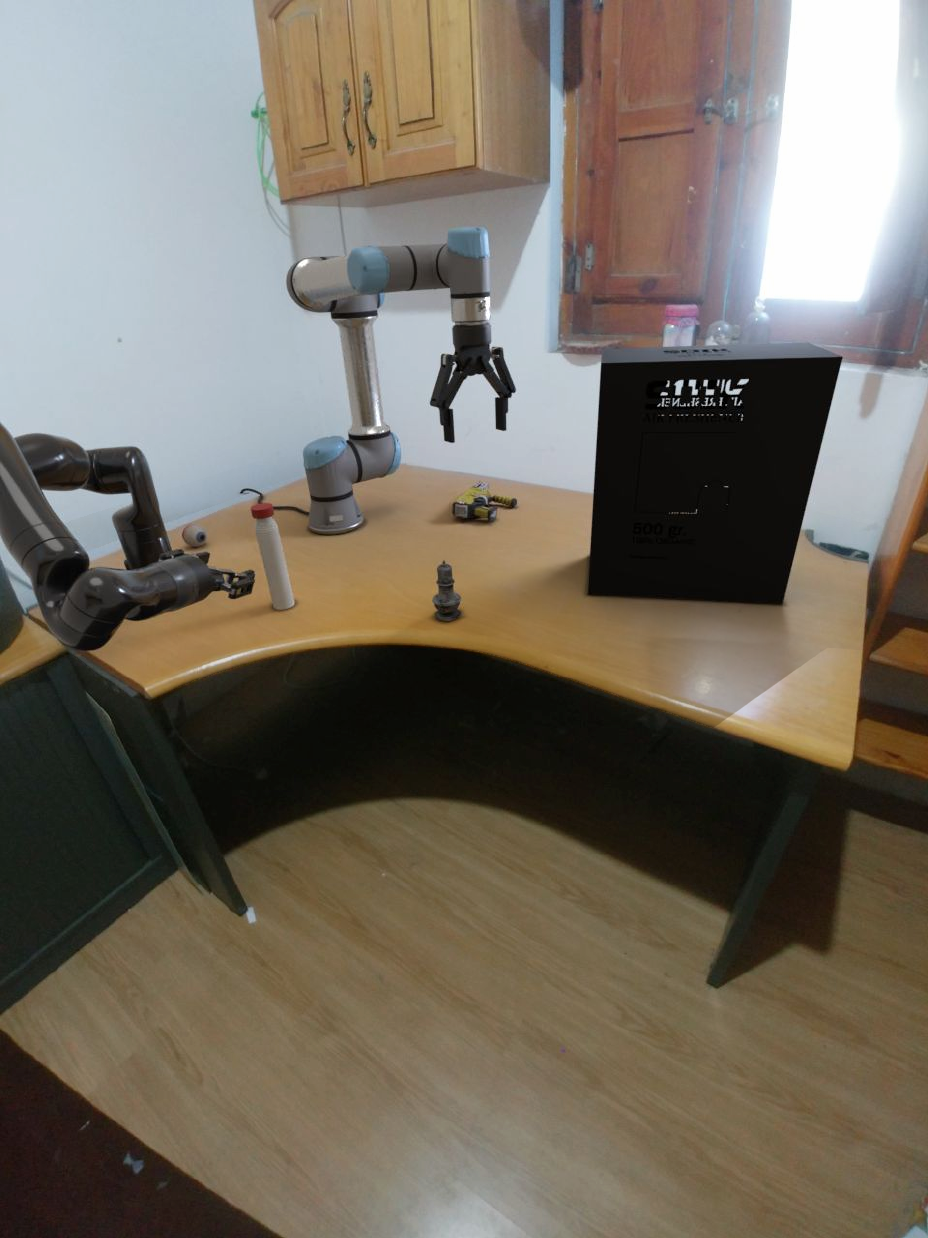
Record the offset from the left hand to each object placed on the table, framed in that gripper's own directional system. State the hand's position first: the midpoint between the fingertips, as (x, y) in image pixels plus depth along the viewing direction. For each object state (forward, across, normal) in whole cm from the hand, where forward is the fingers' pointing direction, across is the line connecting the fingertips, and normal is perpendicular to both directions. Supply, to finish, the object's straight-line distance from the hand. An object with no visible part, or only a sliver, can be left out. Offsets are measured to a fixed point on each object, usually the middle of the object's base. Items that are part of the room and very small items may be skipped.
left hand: (229, 566), depth 106 cm
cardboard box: (+36, +80, +23) cm, 91 cm away
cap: (+15, -4, +8) cm, 18 cm away
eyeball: (+51, -34, -17) cm, 64 cm away
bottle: (+22, +4, -11) cm, 25 cm away
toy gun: (+79, +34, +18) cm, 87 cm away
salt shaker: (+19, +38, +1) cm, 42 cm away
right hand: (+33, +29, +36) cm, 56 cm away
